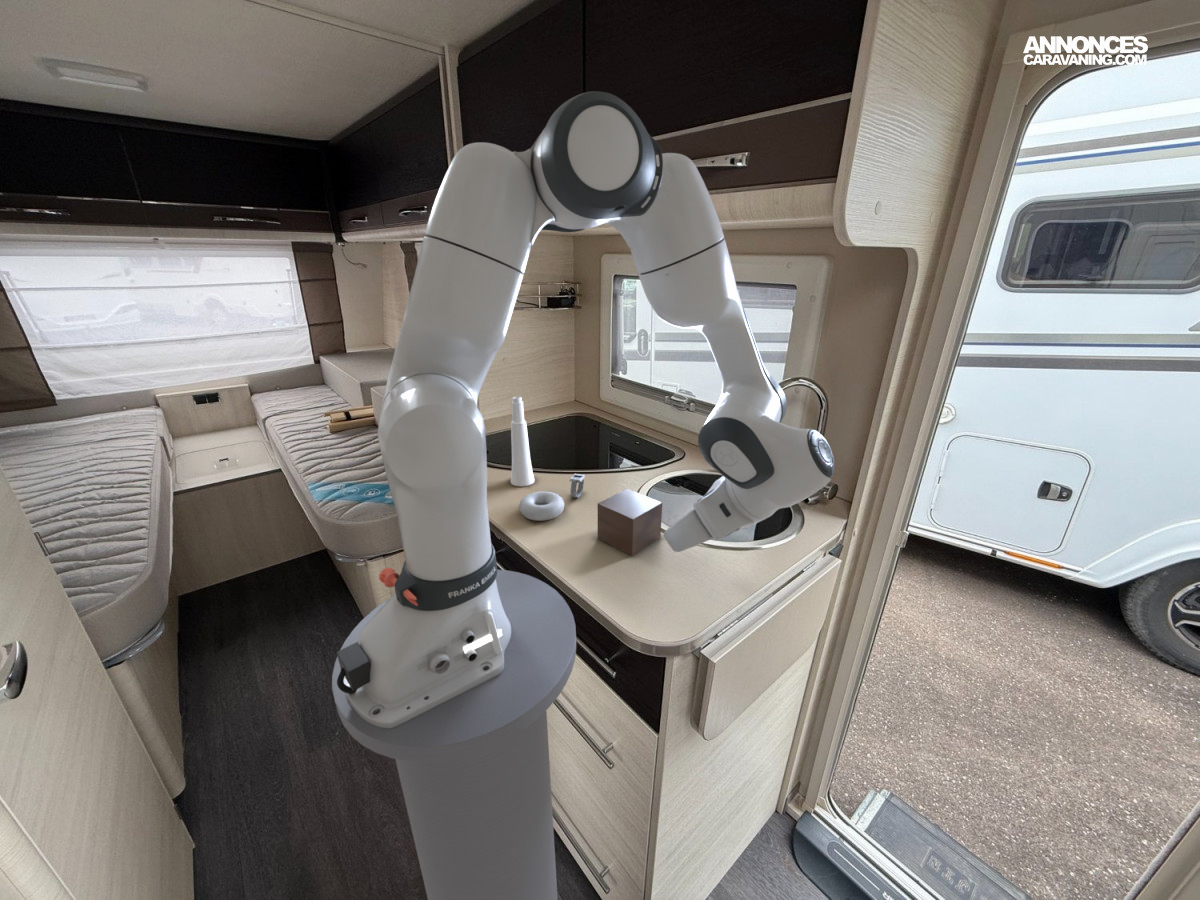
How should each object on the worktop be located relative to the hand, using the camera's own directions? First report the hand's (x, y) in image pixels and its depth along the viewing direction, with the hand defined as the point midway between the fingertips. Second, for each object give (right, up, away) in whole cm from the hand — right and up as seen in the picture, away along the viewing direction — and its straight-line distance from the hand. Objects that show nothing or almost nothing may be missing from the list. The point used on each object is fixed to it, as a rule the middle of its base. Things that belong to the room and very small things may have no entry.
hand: (682, 531), depth 84 cm
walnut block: (-9, -3, +10) cm, 14 cm away
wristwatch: (-20, +3, +28) cm, 35 cm away
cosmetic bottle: (-35, +6, +35) cm, 50 cm away
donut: (-28, +1, +20) cm, 34 cm away
